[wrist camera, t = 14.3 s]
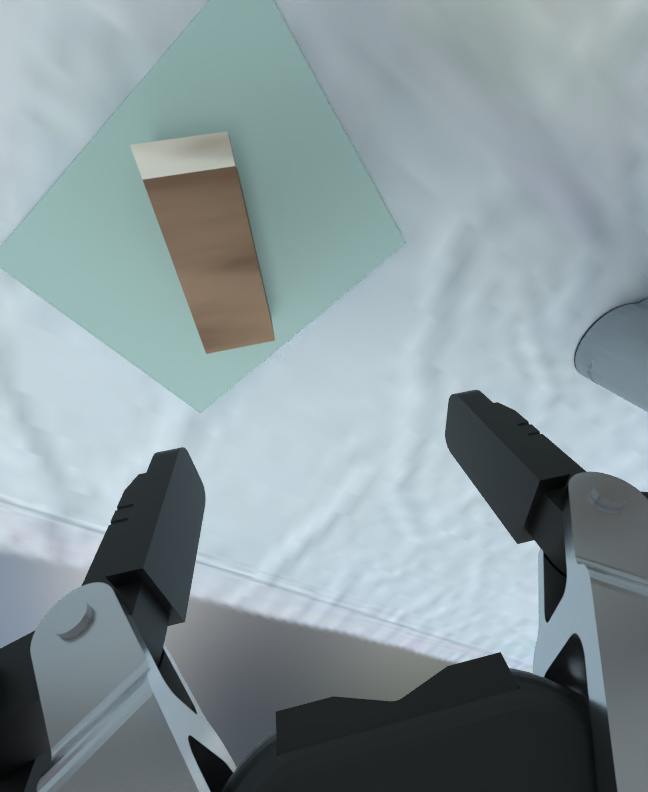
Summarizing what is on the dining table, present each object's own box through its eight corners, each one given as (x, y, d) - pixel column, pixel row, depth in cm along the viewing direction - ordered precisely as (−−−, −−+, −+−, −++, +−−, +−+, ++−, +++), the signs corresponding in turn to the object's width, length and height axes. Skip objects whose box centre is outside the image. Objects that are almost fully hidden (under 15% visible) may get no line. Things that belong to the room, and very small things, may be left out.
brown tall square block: (212, 329, 28) (153, 153, 21) (271, 317, 28) (231, 142, 21) (206, 354, 23) (129, 144, 17) (275, 340, 24) (227, 131, 17)
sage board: (248, -34, 18) (248, -46, 17) (400, 241, 28) (406, 242, 27) (1, 257, 23) (-11, 260, 22) (202, 406, 33) (200, 413, 32)
